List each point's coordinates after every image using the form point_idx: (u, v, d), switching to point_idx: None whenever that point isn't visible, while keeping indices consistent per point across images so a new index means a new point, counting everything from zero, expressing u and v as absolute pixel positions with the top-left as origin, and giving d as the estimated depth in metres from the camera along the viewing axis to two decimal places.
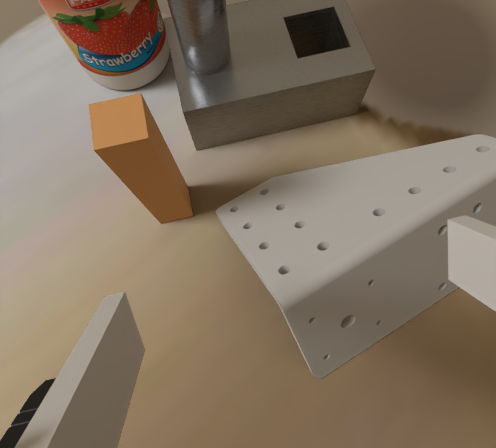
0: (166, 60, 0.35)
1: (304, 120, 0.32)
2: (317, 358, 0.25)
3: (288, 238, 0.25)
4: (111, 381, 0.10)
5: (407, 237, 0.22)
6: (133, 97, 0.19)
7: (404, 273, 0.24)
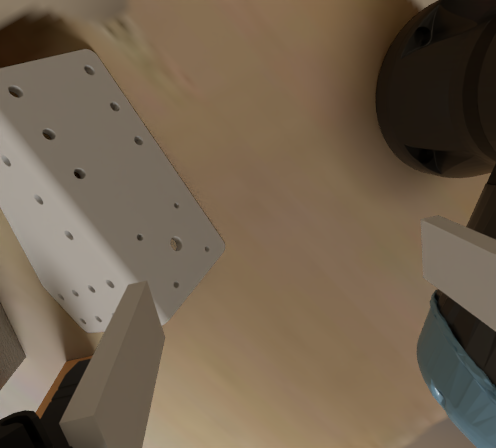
0: None
1: None
2: (208, 258, 0.31)
3: (106, 300, 0.28)
4: (140, 362, 0.11)
5: (92, 217, 0.24)
6: None
7: (128, 200, 0.26)
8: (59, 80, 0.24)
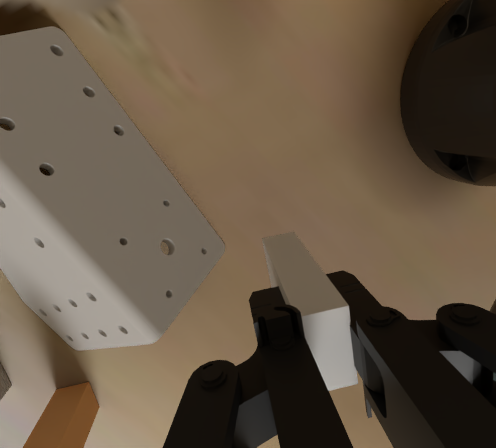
0: None
1: None
2: (205, 261, 0.27)
3: (90, 315, 0.24)
4: None
5: (63, 220, 0.20)
6: None
7: (108, 199, 0.22)
8: (19, 61, 0.21)
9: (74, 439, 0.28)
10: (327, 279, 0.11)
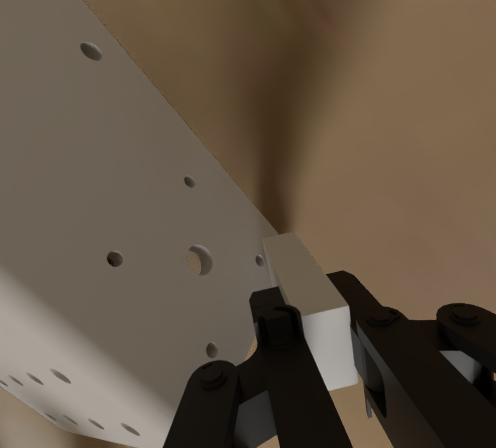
0: None
1: None
2: (264, 278, 0.16)
3: (68, 399, 0.13)
4: None
5: None
6: None
7: (77, 176, 0.11)
8: None
9: None
10: (327, 279, 0.11)
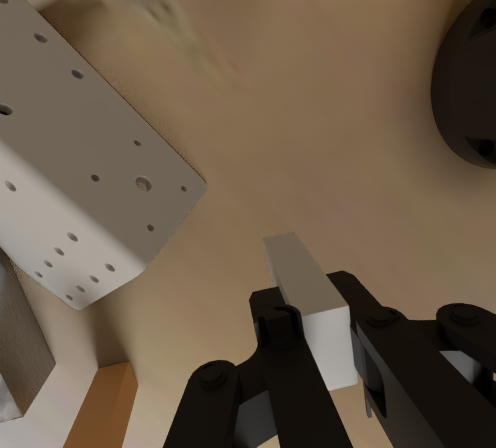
0: None
1: (3, 267, 0.28)
2: (187, 198, 0.27)
3: (77, 261, 0.24)
4: None
5: (28, 157, 0.20)
6: None
7: (74, 138, 0.22)
8: None
9: (121, 413, 0.29)
10: (327, 279, 0.11)
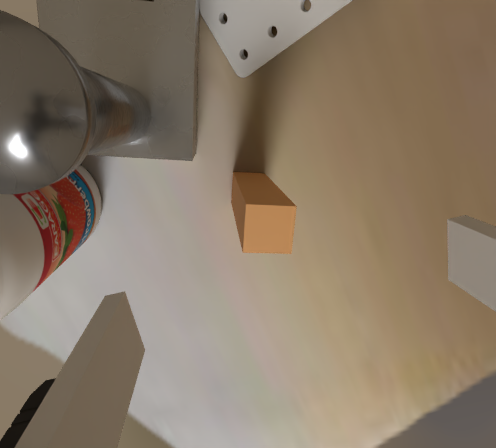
0: None
1: (198, 19, 0.27)
2: None
3: None
4: (111, 381, 0.10)
5: None
6: (248, 211, 0.20)
7: None
8: None
9: None
10: None
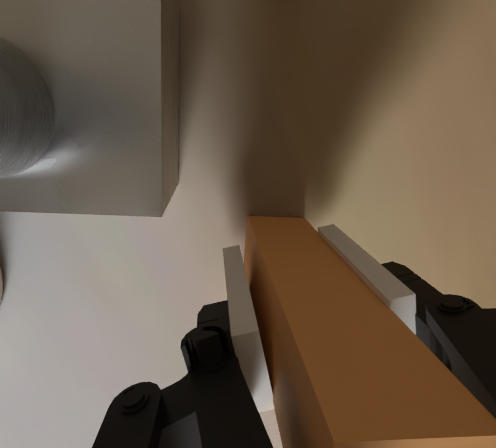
0: None
1: None
2: None
3: None
4: None
5: None
6: None
7: None
8: None
9: None
10: (384, 269, 0.11)
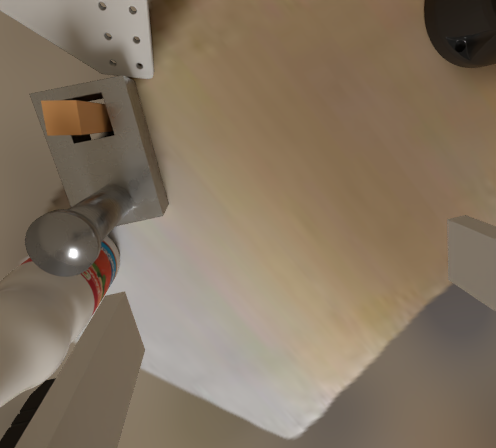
0: None
1: (145, 125, 0.43)
2: None
3: (114, 0, 0.35)
4: (111, 381, 0.10)
5: None
6: (43, 105, 0.30)
7: None
8: None
9: (105, 117, 0.39)
10: None
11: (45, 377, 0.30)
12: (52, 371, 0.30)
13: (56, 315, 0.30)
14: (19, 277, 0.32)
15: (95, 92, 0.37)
